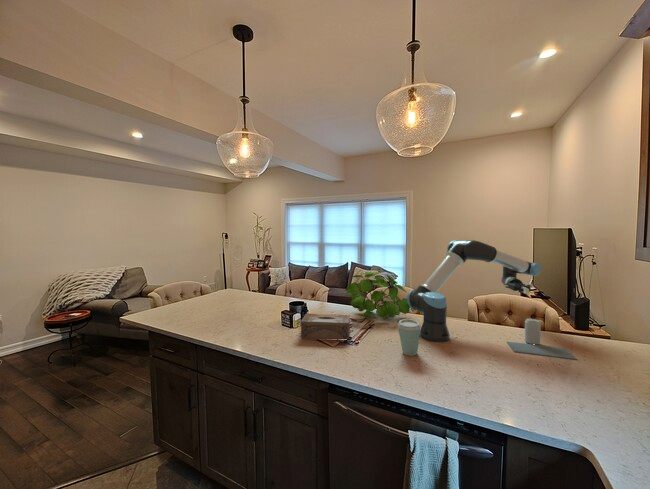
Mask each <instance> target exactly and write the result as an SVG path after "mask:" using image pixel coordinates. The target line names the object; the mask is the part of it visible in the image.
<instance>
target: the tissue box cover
mask: <svg viewBox="0 0 650 489" xmlns="http://www.w3.org/2000/svg"><path fill="white" fill-rule="evenodd" d="M350 317H351V315H350V314H333V313H332V314H331V313H305V314H304V316H303V317H302V319H301V321H300V339H301V340H310V341H311V340H315V341H317V340H318V339H337V340H338V339H349V340H350V334H349V331H350V332H351V329H350V328H351V326H350V325H351V318H350ZM318 341H319V340H318Z"/></svg>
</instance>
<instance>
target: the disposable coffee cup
mask: <svg viewBox="0 0 650 489" xmlns="http://www.w3.org/2000/svg"><path fill="white" fill-rule="evenodd" d="M397 327H398V335H399V339H400V346H401V350H402V351H401V352H402V353H403V354H404V355H405V356H410V357H411V356H416V355H417V353H418V349H419V342H420V329H421V327H422V324H420V322H419V321H418V320H416V319H413V318H412V319H411V318H403V319H400V320H399V321H398V323H397Z"/></svg>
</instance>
